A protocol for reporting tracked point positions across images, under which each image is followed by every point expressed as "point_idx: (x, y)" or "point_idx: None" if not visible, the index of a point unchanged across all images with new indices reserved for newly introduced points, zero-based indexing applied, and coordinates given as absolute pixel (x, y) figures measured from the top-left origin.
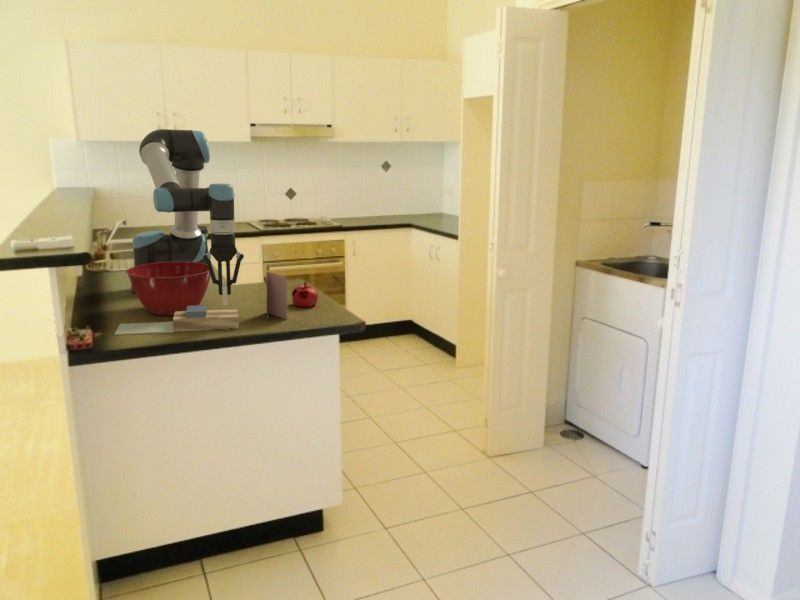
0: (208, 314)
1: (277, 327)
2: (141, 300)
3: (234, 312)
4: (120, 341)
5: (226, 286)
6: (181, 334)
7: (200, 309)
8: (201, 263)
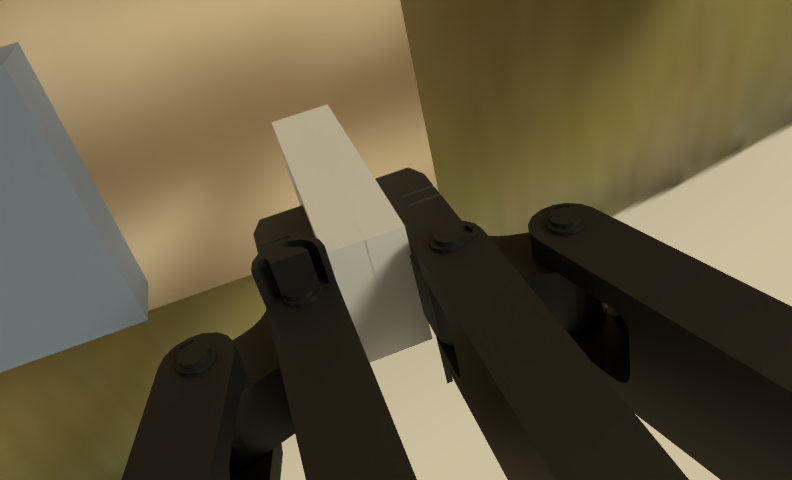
0: (122, 185)
1: (679, 72)
2: None
3: (376, 58)
4: None
5: (420, 333)
6: (9, 377)
7: (45, 271)
8: None
